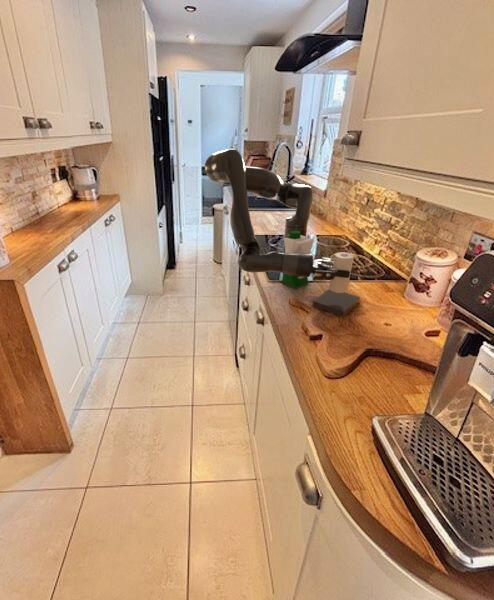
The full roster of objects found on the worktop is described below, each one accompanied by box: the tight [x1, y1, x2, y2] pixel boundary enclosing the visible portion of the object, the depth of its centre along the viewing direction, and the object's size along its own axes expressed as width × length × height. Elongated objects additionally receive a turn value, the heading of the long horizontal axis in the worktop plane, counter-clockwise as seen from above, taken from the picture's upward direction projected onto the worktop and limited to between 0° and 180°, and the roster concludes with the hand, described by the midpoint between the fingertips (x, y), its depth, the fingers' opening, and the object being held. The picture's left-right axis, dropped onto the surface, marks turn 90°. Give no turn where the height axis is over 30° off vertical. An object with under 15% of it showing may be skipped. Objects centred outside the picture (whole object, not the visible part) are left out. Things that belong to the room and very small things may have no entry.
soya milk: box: [281, 230, 315, 289], centre depth 122 cm, size 9×9×20 cm
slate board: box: [311, 288, 361, 318], centre depth 111 cm, size 13×11×2 cm
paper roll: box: [328, 251, 355, 293], centre depth 106 cm, size 6×6×12 cm
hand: (349, 270), depth 105 cm, fingers closed on paper roll, 5 cm apart
